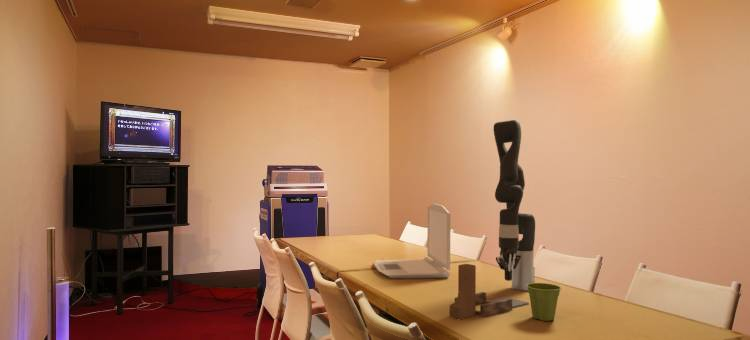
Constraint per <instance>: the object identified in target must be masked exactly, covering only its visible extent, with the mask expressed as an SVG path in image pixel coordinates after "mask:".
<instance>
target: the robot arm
mask: <svg viewBox="0 0 750 340" xmlns="http://www.w3.org/2000/svg"><path fill="white" fill-rule="evenodd" d="M521 128H522V127H521V124H520V121H519V120H517V119H512V120H505V121H499V122H498V121H497V122H495V123H494V124H493V135H494V140H495V146H496V149H497V153H498V158H499V180H498V183H497V186H496V189H495V192H494V198H495V200H496V202H498V203H500V204H505V206H506V208H503V209H501V210H500V211H499V226H498V248H499V249H500V251H499V256H496V257H495V261H496V262H497V264H498V266H499V268H500V270H503V271H504V280H505V281H509V282H510V281H511V289H512V290H516V291H522V292H526V291H528V287H526V284H529V283H536V282H535V266H534V247H535V238H536V219H535V217H534V215H533V214H531V213H519V211H520V206H521V203H522V199H523V196H524V190H525V186H526V182H525V175H524V170H523V168H522V167H521V165H520V163H519V157H520V149H521V142H522V129H521ZM506 143H507V144H508V143H511V144H510V147H509V148H508V149H507V147H506ZM520 235H522V238H521V239H519V237H520Z"/></svg>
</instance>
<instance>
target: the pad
mask: <svg viewBox="0 0 750 340" xmlns="http://www.w3.org/2000/svg"><path fill="white" fill-rule="evenodd" d="M509 298H510V299H512V309H515V308H518V307H523V306H526V305H527V306H528V305H529V303H530V302H528V301H523V300H519V299H515V298H512V297H508V296H503V297H499V298H496V299H491V300H489V301H492V302H495V301H500V300H504V299H509Z"/></svg>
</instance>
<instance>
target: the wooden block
mask: <svg viewBox="0 0 750 340" xmlns="http://www.w3.org/2000/svg"><path fill="white" fill-rule="evenodd" d="M476 268H477V267H476V265H475V264H469V263H463V264H459V265H458V272H457V273H458V277H457V279H458V280H457V281H458V282H457V283H458V284H457V285H458V286H457V287H458V290H457V291H458V293H457V300H456V301H455V300H454V302H453V303H451V304H449V318H451V317H453V318H452V319H454V318H456V319H455V320H457V319H460V320H463V318H464V319H468V318H472V317H476V315H475V310H476V305H475V304H476V292H477V291H476V288H477V285H476V282H477V281H476V277H477V276H476V275H477V274H476ZM467 317H468V318H467Z"/></svg>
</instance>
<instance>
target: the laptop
mask: <svg viewBox="0 0 750 340" xmlns="http://www.w3.org/2000/svg"><path fill="white" fill-rule="evenodd" d="M373 265H374V267H375V268H376V270H377V271H378V272H380V273H381V274H382V275H384V276H386V277H388V278H390V279H445V278H446V279H449V277H450V275H451V273H450V272H449V271H450V270H451V212H450V211H449V210H448V209H447V208H446V207H445V206H444V205H442V204H438V203H432V204H430V205H429V206H427V256H425V257H424V258H422V259H376V260H375V261H374V263H373Z"/></svg>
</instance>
